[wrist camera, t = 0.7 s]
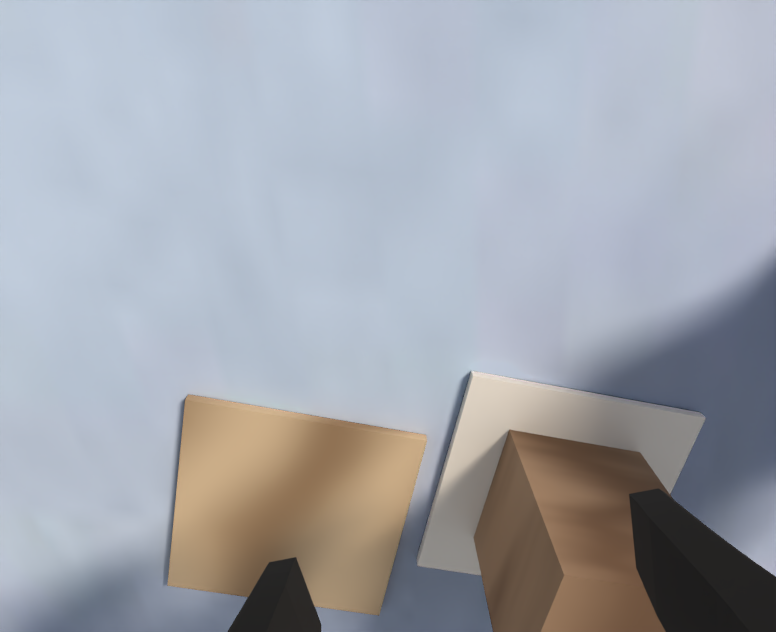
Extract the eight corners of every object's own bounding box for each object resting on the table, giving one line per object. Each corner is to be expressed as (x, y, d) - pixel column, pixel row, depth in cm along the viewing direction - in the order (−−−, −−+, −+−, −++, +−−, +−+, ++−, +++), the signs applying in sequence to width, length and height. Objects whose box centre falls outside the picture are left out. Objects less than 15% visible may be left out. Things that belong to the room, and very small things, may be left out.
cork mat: (426, 435, 23) (426, 440, 22) (379, 607, 26) (379, 615, 25) (188, 394, 22) (185, 399, 21) (170, 578, 25) (167, 585, 25)
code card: (700, 412, 22) (706, 418, 22) (618, 589, 26) (622, 596, 25) (471, 370, 22) (472, 376, 21) (416, 558, 25) (417, 566, 24)
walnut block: (639, 452, 23) (746, 602, 16) (595, 556, 24) (673, 729, 18) (509, 429, 22) (564, 575, 16) (473, 537, 24) (509, 707, 17)
